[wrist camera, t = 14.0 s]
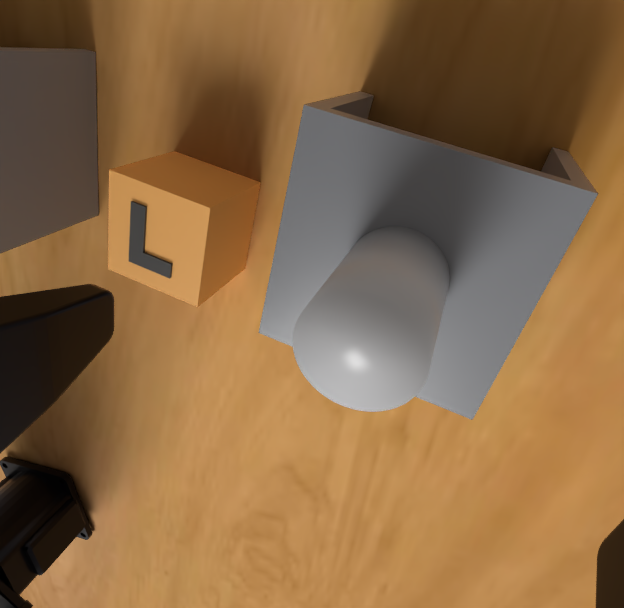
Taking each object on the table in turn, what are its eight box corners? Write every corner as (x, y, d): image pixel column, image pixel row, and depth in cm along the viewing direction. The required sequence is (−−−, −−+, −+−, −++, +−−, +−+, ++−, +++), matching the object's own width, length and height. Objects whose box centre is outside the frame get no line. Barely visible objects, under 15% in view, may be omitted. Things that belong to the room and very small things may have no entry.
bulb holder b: (315, 268, 20) (190, 410, 12) (360, 91, 16) (223, 123, 8) (479, 330, 19) (462, 534, 11) (568, 151, 15) (643, 259, 7)
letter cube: (168, 237, 22) (106, 270, 18) (175, 150, 20) (107, 170, 16) (245, 268, 21) (195, 308, 18) (261, 181, 19) (208, 208, 16)
